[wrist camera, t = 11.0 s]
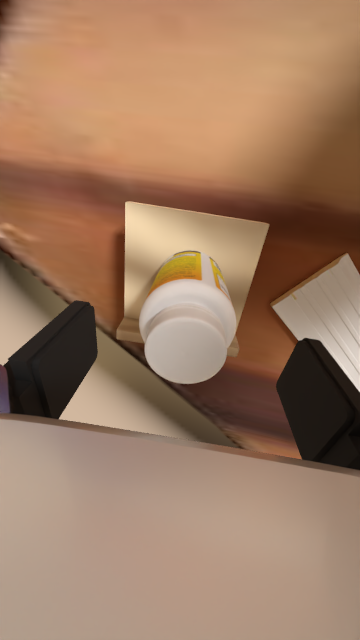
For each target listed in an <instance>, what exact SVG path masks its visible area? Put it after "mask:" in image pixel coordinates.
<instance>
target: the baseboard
mask: <svg viewBox="0 0 360 640" xmlns="http://www.w3.org/2000/svg"><path fill="white" fill-rule="evenodd" d="M270 305H271V307H272V308H273V309H274V310H275V312H276V313H277V314H278V316H279V317H280V318H281V319H282V321H283V322H284V323H285V324H286V326H287V327H288V328H289V329H290V331H291V332H292V333H293V334H294V336H295V337H296V338H297V340H298V341H299V340H302V339H304V338H310V339H316V340H320V341H321V342H322V344H323V345H324V346H325V348H326V349H327V350H328V352H329V353H330V354H331V355H332V357H333V358H334V359H335V361H336V362H337V363H338V365H339V366H340V367H341V368H342V370H343V371H344V372H345V374H346V375H347V376H348V378H349V379H350V380H351V382H352V383H353V384H354V385H355V387H356V388H357V389H358V391H359V392H360V274H359V273H358V271H357V269H356V267H355V265H354V264H353V262H352V260H351V258H350V257H349V255H348V253H345V254H343V255H342V256H340V257H339V258H337V259H336V260H334V261H333V262H331V263H330V264H328V265H327V266H325V267H324V268H322V269H321V270H319V271H318V272H316V273H315V274H313V275H312V276H310V277H309V278H307V279H306V280H304V281H303V282H301V283H300V284H298V285H297V286H295V287H294V288H292V289H291V290H289V291H288V292H286V293H285V294H283V295H282V296H280V297H279V298H277V299H276V300H274V301H273V302H271V303H270Z"/></svg>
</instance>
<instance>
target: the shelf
mask: <svg viewBox="0 0 360 640" xmlns="http://www.w3.org/2000/svg"><path fill="white" fill-rule="evenodd" d="M269 225H270V224H267V223H264V222H257V221H251V220H245V219H238V218H232V217H225V216H219V215H213V214H206V213H200V212H193V211H187V210H181V209H174V208H168V207H161V206H155V205H149V204H142V203H136V202H125V292H124V318H123V320H122V322H121V323H120V325H119V327H118V328H117V330H116V333H117V339H118V340H125V341H131V342H138V343H144V341H143V339H142V336H141V333H140V328H139V316H140V312H141V309H142V306H143V304H144V302H145V300H146V297H147V295H148V293H149V291H150V289H151V287H152V285H153V283H154V281H155V278H156V276H157V274H158V272H159V270H160V268H161V266H162V265H163V263H164V262H165V261H166V260H167V259H168V258H169V257H170V256H172V255H173V254H175V253H178V252H181V251H185V250H195V251H200V252H202V253H205V254H207V255H208V256H210V257H211V258H212V259H213V260H214V261H215V262H216V263H217V265H218V266H219V268H220V270H221V273H222V276H223V278H224V281H225V284H226V287H227V290H228V293H229V296H230V299H231V302H232V305H233V308H234V311H235V316H236V330H237V327H238V324H239V320H240V317H241V314H242V311H243V308H244V305H245V301H246V298H247V295H248V292H249V289H250V285H251V282H252V279H253V276H254V273H255V269H256V266H257V263H258V260H259V257H260V253H261V250H262V247H263V244H264V241H265V238H266V234H267V231H268V228H269ZM235 333H236V331H235ZM238 351H239V345H238V341H237V338H236V334H235V336H234V338H233V340H232V342H231V344H230V346H229V347H228V348H227V356H231V357H237V354H238Z"/></svg>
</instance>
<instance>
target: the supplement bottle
mask: <svg viewBox="0 0 360 640" xmlns="http://www.w3.org/2000/svg"><path fill="white" fill-rule="evenodd" d="M139 328H140V333H141V336H142V339H143V341H144V343H145V349H144V351H145V357H146V360H147V362H148V364H149V365H150V367H151V368H152V369H153V370H154V371H155V372H156V373H157V374H158V375H160V376H161V377H163V378H165V379H167V380H169V381H172V382H176V383H182V384H193V383H198V382H202V381H205V380H207V379H209V378H211V377H212V376H214V375H215V374H216V373H217V372H218V371H219V370H220V369H221V368H222V366H223V365H224V363H225V360H226V356H227V348H228V347H229V346H230V344H231V342H232V340H233V338H234V336H235V331H236V316H235V311H234V308H233V305H232V302H231V299H230V296H229V293H228V290H227V287H226V284H225V281H224V278H223V276H222V273H221V270H220V268H219V266H218V265H217V263H216V262H215V261H214V260H213V259H212V258H211V257H210V256H208V255H207V254H205V253H202V252H200V251H195V250H185V251H181V252H178V253H175V254H173V255H172V256H170V257H169V258H168V259H167V260H166V261H165V262H164V263H163V265H162V266H161V268H160V270H159V272H158V274H157V276H156V278H155V281H154V283H153V285H152V287H151V289H150V291H149V293H148V295H147V297H146V300H145V302H144V304H143V306H142V309H141V312H140V316H139Z"/></svg>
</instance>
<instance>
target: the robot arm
mask: <svg viewBox="0 0 360 640" xmlns="http://www.w3.org/2000/svg"><path fill="white" fill-rule="evenodd" d="M97 352H98V351H97V339H96V326H95V314H94V307H93V306H91V305H90V303H89V302H83V301H77V300H76V301H74V302H73V303H72V304H70V305H69V306H68V307H67V308H66V309H65V310H64V311H62V312H61V313H60V314H59V315H58V316H57V317H56V318H54V319H53V320H52V321H51V322H50V323H49V324H48V325H46V326H45V327H44V328H43V329H42V330H41V331H39V332H38V333H37V334H36V335H35V336H34V337H33V338H31V339H30V340H29V341H28V342H27V343H26V344H25V345H23V346H22V347H21V348H20V349H19V350H18V351H17V352H15V353H14V354H13V355H12V356H11V357H10V358H9V359H8V360H9V361H8V362H7V363H6V364H5V365H4V366H2V365H1V364H0V640H360V392H359V391H358V389H357V388H356V387H355V385H354V384H353V383H352V382H351V380H350V379H349V378H348V376H347V375H346V374H345V372H344V371H343V370H342V368H341V367H340V366H339V365H338V363H337V362H336V361H335V359H334V358H333V357H332V355H331V354H330V353H329V352H328V350H327V349H326V348H325V346H324V345H323V344H322V342H321V341H320V340H316V339H310V338H304V339H302V340H299V341H298V343H297V344H296V346H295V348H294V350H293V352H292V354H291V356H290V358H289V360H288V362H287V364H286V366H285V368H284V370H283V371H282V373H281V375H280V377H279V379H278V381H277V385H276V388H277V392H278V394H279V397H280V400H281V403H282V405H283V408H284V411H285V414H286V416H287V419H288V422H289V425H290V427H291V430H292V433H293V436H294V438H295V441H296V444H297V447H298V449H299V452H300V455H301V457H302V460H301V459H296V458H290V457H284V456H278V455H273V454H267V453H261V452H255V451H250V450H244V449H238V448H232V447H226V446H220V445H214V444H208V443H202V442H196V441H190V440H184V439H178V438H172V437H167V436H161V435H154V434H148V433H142V432H135V431H130V430H123V429H117V428H111V427H105V426H99V425H93V424H87V423H80V422H73V421H67V420H59V417H60V415H61V414H62V412H63V411H64V409H65V408H66V406H67V404H68V403H69V401H70V400H71V398H72V397H73V395H74V393H75V392H76V390H77V388H78V387H79V385H80V384H81V382H82V381H83V379H84V377H85V376H86V374H87V373H88V371H89V370H90V368H91V366H92V365H93V363H94V361H95V360H96V358H97Z"/></svg>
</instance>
